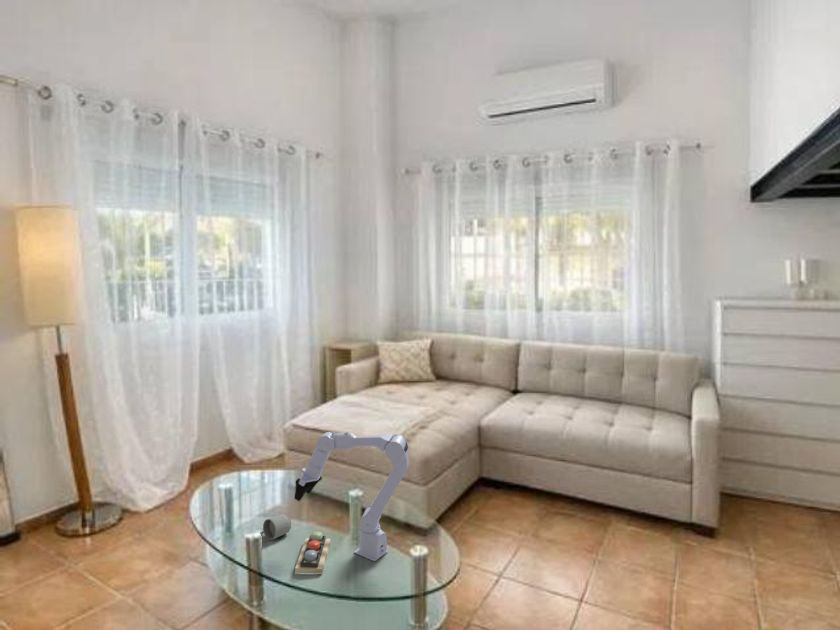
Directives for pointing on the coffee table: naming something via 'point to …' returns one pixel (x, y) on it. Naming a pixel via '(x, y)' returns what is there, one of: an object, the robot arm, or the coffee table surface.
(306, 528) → the coffee table surface
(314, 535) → the sage green button
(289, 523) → the ceramic mug
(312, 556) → the slate blue button
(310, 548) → the red button
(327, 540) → the button panel
